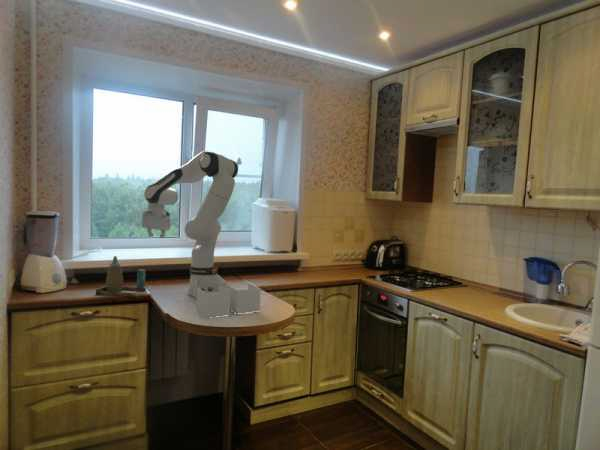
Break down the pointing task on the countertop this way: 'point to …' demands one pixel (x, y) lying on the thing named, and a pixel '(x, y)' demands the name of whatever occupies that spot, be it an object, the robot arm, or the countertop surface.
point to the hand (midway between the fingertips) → (156, 237)
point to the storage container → (228, 301)
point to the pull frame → (139, 287)
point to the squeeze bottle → (114, 277)
